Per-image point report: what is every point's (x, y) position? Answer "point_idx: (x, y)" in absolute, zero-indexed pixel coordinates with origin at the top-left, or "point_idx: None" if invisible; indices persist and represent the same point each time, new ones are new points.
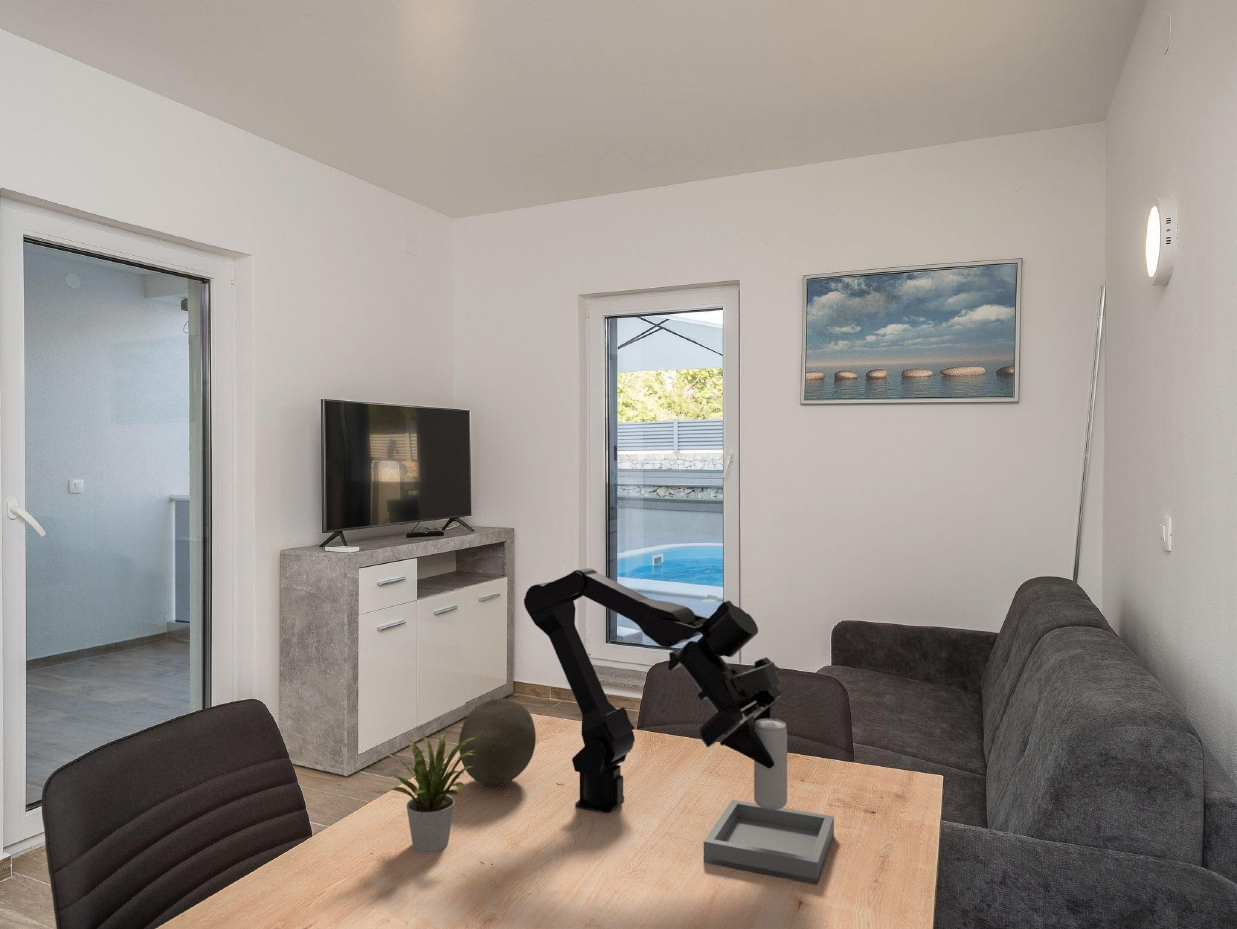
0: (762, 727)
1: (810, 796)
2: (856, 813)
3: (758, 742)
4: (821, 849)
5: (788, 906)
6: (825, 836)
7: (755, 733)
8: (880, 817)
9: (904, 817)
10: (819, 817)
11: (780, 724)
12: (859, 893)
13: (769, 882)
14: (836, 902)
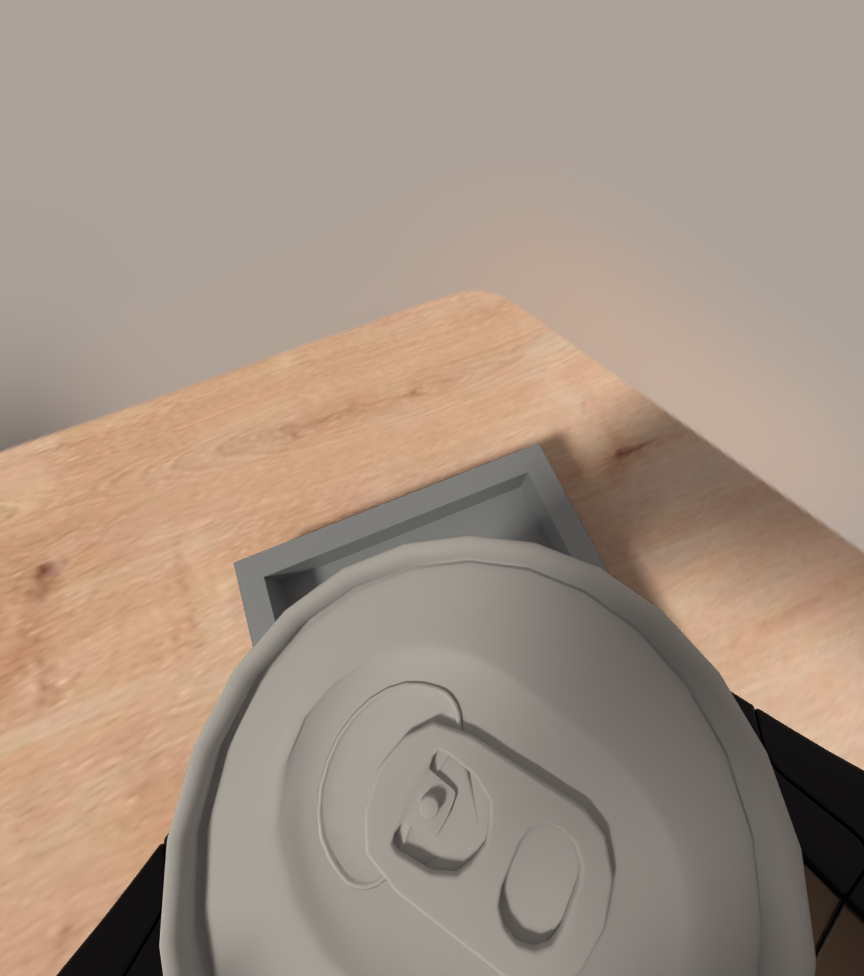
0: (789, 830)
1: (5, 799)
2: (76, 601)
3: (779, 737)
4: (464, 474)
5: (658, 462)
6: (383, 507)
7: (855, 872)
8: (71, 538)
9: (41, 493)
10: (267, 593)
11: (351, 674)
12: (488, 391)
13: (610, 552)
14: (558, 404)
